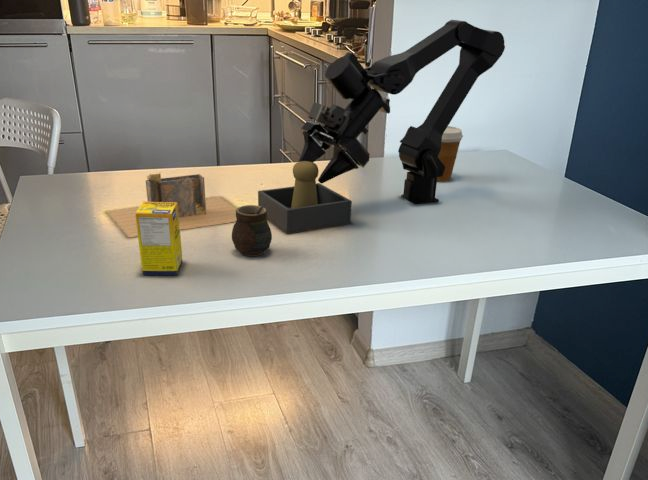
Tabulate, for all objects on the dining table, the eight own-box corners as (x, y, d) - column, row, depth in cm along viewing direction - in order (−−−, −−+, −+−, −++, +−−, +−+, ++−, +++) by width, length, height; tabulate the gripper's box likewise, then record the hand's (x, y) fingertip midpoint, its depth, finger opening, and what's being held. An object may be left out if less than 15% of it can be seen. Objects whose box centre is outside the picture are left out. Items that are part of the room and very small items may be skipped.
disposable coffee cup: (416, 180, 166) (421, 131, 160) (422, 171, 174) (427, 123, 168) (454, 185, 164) (461, 135, 158) (459, 175, 172) (465, 127, 166)
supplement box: (182, 262, 118) (178, 201, 112) (177, 276, 113) (172, 213, 107) (148, 261, 117) (142, 200, 112) (141, 275, 112) (134, 212, 107)
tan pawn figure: (284, 213, 140) (285, 160, 135) (309, 209, 143) (310, 157, 138) (300, 222, 136) (301, 167, 130) (324, 217, 139) (326, 164, 133)
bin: (318, 204, 148) (319, 182, 146) (350, 223, 138) (351, 200, 135) (258, 213, 142) (257, 190, 139) (287, 233, 132) (287, 210, 129)
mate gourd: (252, 241, 127) (251, 189, 122) (281, 251, 123) (281, 198, 118) (224, 251, 122) (221, 198, 117) (254, 263, 118) (252, 208, 113)
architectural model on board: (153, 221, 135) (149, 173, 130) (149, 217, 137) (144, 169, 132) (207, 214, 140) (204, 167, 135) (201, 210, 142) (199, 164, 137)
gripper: (310, 79, 137) (262, 140, 137) (359, 94, 123) (306, 162, 123) (341, 116, 144) (296, 173, 145) (391, 135, 130) (341, 198, 131)
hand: (308, 176), depth 136 cm, fingers open, 9 cm apart
